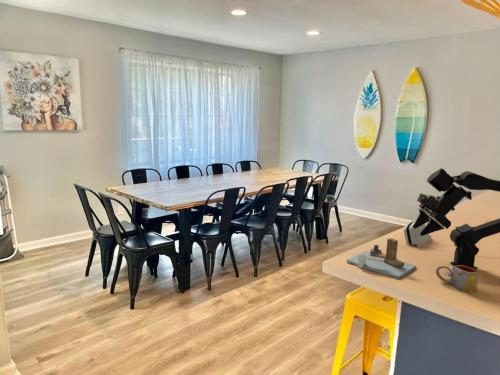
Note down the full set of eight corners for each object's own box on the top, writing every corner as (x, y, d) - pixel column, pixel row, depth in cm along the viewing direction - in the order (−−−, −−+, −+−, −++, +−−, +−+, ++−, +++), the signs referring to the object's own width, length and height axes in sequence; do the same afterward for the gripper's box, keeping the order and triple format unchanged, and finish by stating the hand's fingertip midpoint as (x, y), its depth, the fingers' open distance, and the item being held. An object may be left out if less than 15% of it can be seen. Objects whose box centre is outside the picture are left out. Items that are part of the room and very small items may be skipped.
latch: (367, 254, 144) (369, 233, 142) (375, 252, 146) (377, 231, 144) (397, 267, 131) (399, 244, 129) (405, 266, 133) (407, 243, 131)
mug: (478, 287, 120) (481, 268, 119) (474, 294, 115) (476, 274, 114) (438, 277, 128) (440, 258, 127) (432, 283, 123) (434, 264, 121)
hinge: (418, 247, 157) (412, 224, 157) (407, 248, 160) (401, 225, 161) (432, 238, 169) (426, 217, 169) (421, 240, 172) (415, 218, 172)
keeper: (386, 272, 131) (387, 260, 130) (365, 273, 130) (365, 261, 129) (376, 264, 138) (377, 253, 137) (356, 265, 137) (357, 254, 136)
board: (415, 268, 135) (416, 265, 135) (398, 279, 125) (398, 276, 125) (365, 253, 149) (365, 251, 149) (346, 262, 139) (346, 259, 139)
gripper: (423, 181, 143) (394, 211, 147) (440, 190, 125) (406, 223, 128) (446, 200, 143) (416, 229, 147) (466, 212, 125) (431, 244, 128)
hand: (417, 231), depth 138 cm, fingers open, 9 cm apart
